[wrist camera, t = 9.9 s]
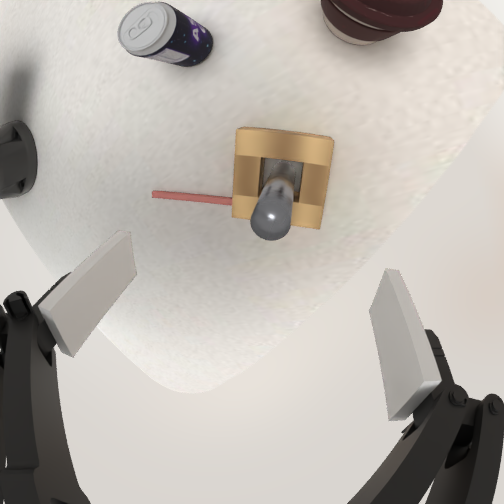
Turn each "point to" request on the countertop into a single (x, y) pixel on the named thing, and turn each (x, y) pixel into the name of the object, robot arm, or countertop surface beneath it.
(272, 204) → the grey capsule rod
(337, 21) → the coffee cup
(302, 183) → the wooden square frame
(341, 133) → the countertop surface
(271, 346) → the countertop surface
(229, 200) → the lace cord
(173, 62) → the beverage can
